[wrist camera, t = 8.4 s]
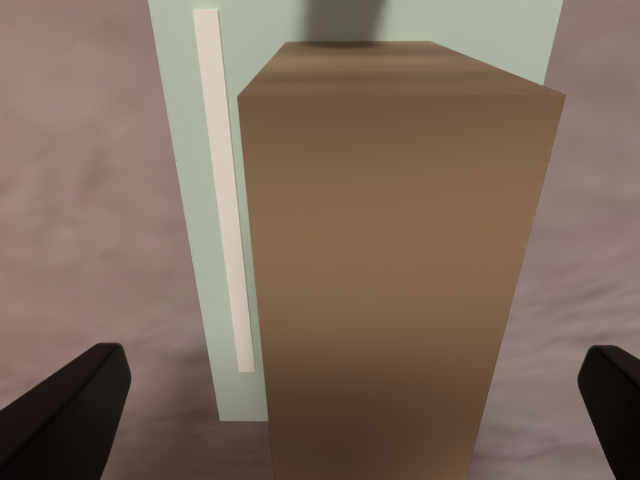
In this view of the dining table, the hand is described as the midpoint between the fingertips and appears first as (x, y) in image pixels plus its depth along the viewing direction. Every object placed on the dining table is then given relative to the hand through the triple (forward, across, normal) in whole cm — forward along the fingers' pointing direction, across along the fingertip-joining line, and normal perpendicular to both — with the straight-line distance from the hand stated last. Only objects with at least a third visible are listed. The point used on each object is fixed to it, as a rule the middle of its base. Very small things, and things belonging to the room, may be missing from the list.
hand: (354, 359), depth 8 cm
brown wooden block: (+6, 0, 0) cm, 6 cm away
